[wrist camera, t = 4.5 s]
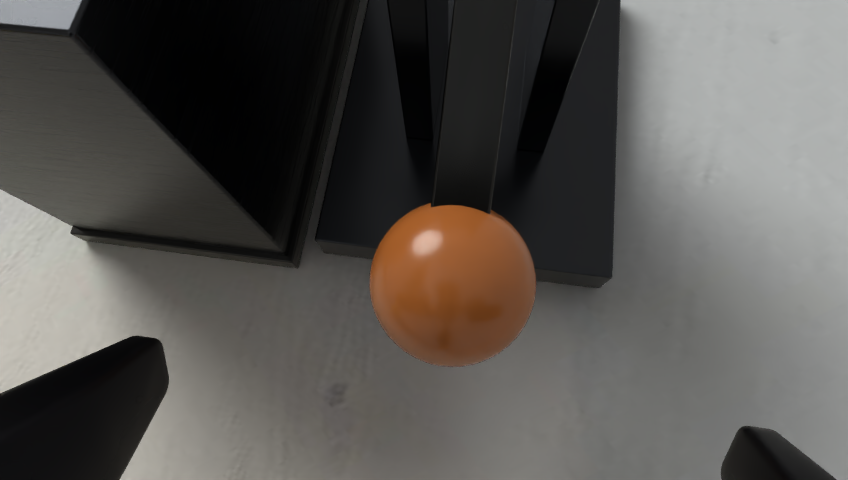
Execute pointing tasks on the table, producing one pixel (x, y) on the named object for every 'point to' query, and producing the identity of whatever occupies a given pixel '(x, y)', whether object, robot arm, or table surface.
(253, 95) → the toaster
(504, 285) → the lever
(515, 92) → the lever bracket
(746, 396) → the table surface
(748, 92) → the table surface
